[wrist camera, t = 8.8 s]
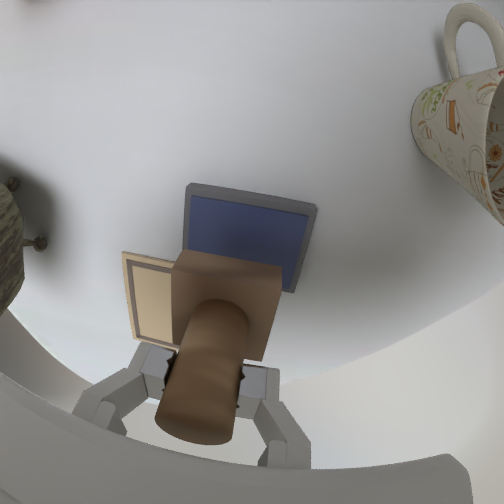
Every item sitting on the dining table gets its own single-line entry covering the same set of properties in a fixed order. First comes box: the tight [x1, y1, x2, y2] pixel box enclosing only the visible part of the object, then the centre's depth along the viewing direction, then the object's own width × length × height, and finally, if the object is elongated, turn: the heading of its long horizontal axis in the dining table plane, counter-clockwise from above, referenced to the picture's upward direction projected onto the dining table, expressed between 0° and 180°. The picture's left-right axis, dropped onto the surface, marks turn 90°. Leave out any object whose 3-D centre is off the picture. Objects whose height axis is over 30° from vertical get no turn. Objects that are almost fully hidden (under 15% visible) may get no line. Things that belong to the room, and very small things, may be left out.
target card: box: [122, 252, 180, 351], centre depth 26 cm, size 11×11×1 cm
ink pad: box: [182, 183, 317, 293], centre depth 21 cm, size 9×7×2 cm
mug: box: [411, 3, 504, 226], centre depth 10 cm, size 8×13×10 cm, turn 14°
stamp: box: [155, 249, 282, 445], centre depth 12 cm, size 5×5×8 cm
